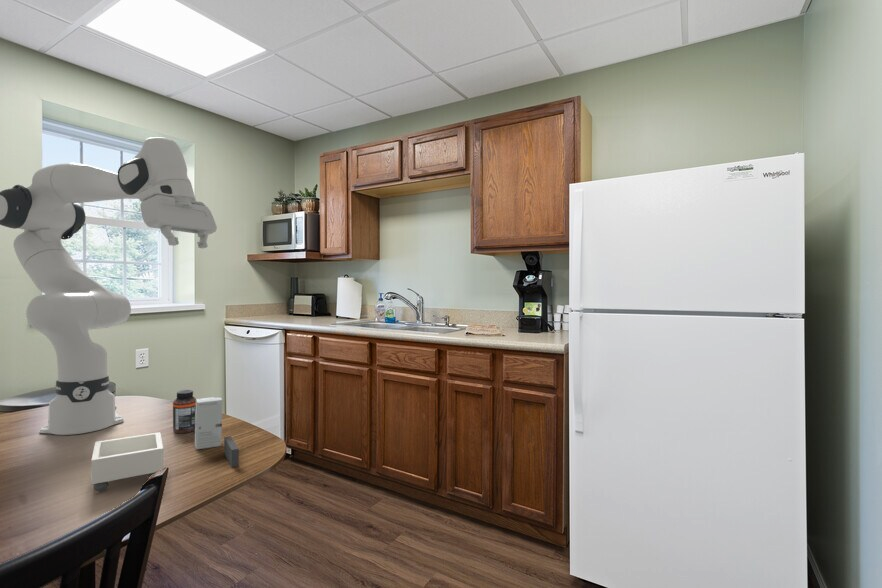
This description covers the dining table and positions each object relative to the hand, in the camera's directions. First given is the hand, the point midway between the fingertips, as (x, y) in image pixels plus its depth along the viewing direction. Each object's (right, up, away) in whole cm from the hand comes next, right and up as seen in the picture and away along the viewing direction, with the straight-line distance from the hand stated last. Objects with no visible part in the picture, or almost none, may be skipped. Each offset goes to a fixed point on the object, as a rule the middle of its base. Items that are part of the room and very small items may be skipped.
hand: (189, 246), depth 117 cm
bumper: (+15, -52, -9) cm, 55 cm away
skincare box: (+5, -52, -1) cm, 52 cm away
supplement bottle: (-7, -52, +10) cm, 53 cm away
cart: (-1, -52, -21) cm, 56 cm away
